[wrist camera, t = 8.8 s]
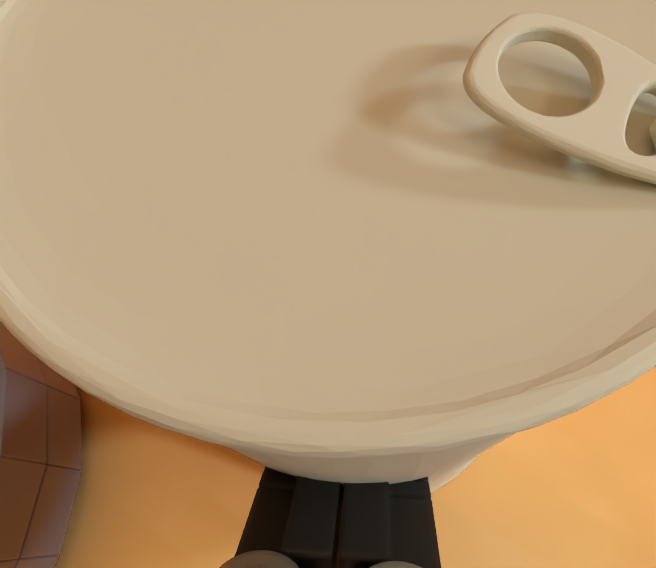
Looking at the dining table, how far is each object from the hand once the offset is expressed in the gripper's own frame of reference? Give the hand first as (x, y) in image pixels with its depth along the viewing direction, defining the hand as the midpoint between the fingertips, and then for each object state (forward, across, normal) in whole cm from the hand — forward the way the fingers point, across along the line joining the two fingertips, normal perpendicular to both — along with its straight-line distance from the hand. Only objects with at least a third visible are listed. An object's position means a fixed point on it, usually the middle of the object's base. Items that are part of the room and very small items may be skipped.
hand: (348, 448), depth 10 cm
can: (+6, 0, +1) cm, 6 cm away
